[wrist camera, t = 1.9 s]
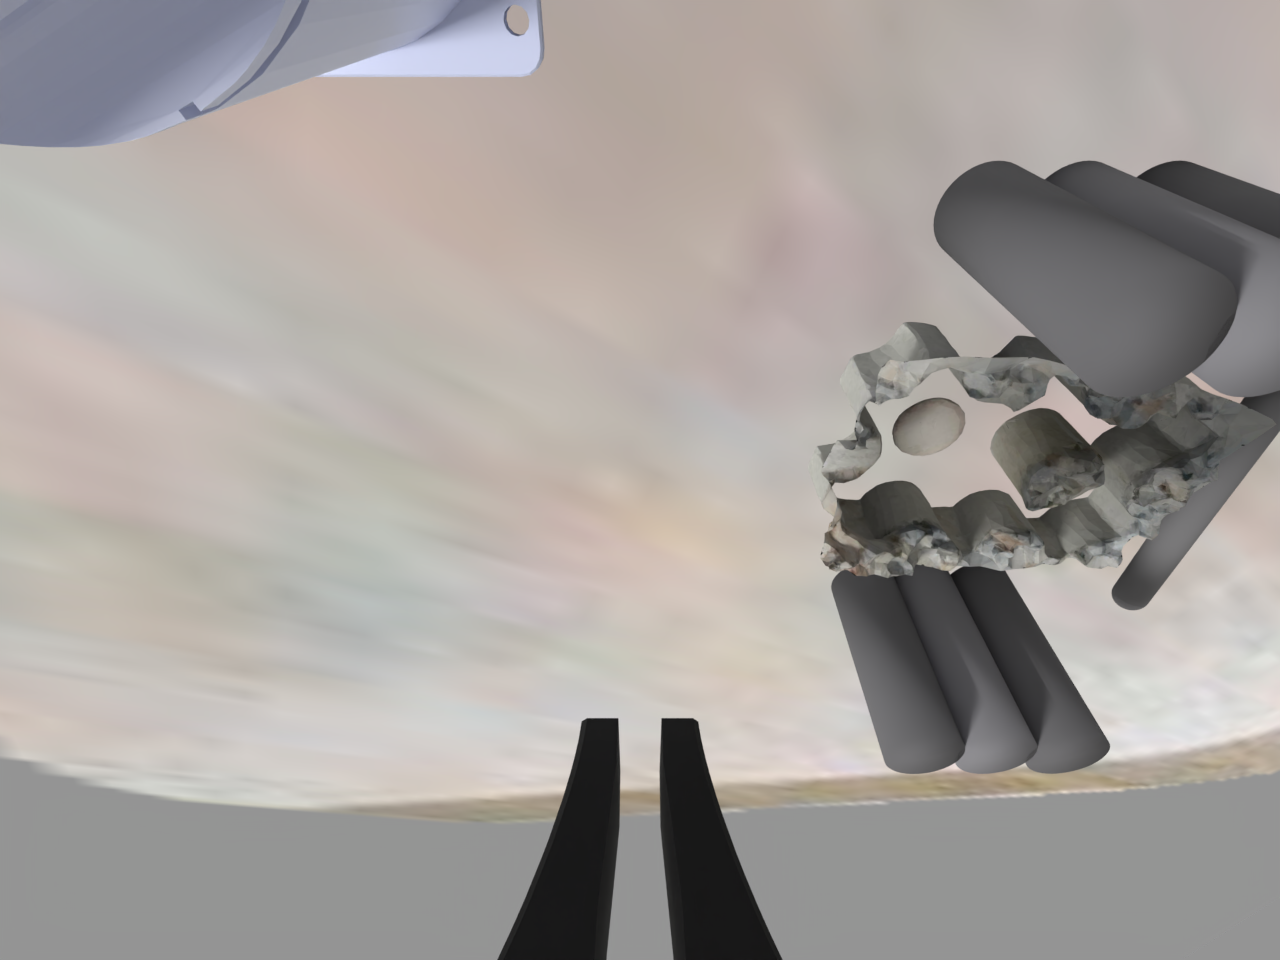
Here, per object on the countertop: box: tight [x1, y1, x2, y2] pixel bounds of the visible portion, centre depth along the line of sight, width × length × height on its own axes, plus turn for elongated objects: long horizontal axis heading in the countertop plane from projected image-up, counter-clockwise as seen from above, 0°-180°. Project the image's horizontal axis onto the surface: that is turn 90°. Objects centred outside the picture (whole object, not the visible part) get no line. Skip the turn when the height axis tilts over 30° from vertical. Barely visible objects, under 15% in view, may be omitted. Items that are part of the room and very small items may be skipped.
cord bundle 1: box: [831, 564, 1110, 774], centre depth 22 cm, size 2×7×7 cm, turn 90°
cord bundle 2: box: [933, 160, 1280, 397], centre depth 14 cm, size 2×7×7 cm, turn 90°
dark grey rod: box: [1111, 390, 1280, 610], centre depth 20 cm, size 15×1×1 cm, turn 0°
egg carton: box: [808, 322, 1276, 578], centre depth 19 cm, size 11×8×4 cm
